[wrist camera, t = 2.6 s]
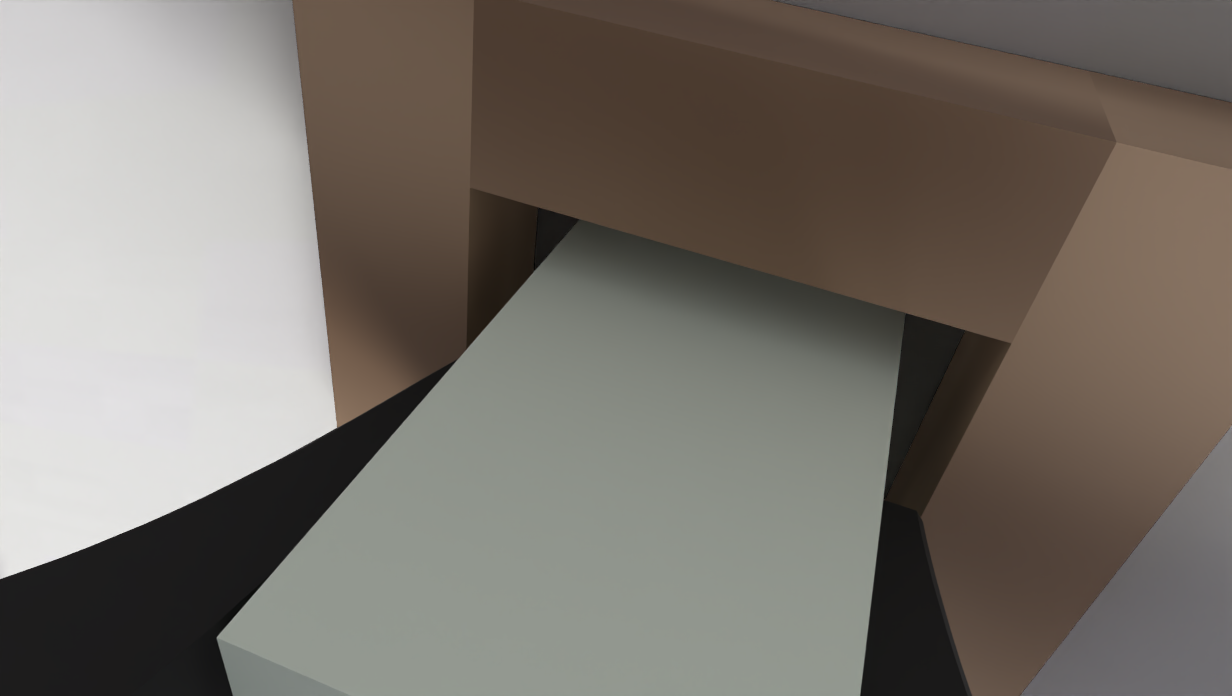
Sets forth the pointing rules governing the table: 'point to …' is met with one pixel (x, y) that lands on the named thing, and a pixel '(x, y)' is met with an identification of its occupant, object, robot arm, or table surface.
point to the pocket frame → (814, 241)
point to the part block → (607, 499)
